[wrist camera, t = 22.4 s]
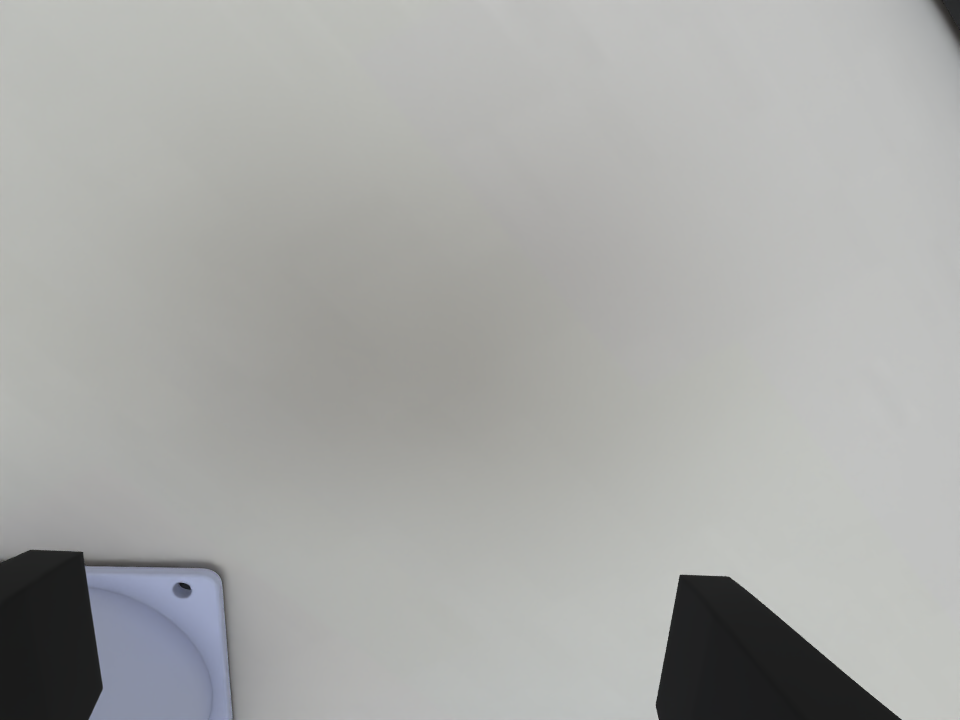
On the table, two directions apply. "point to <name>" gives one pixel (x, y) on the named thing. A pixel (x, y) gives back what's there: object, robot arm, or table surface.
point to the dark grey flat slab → (954, 10)
